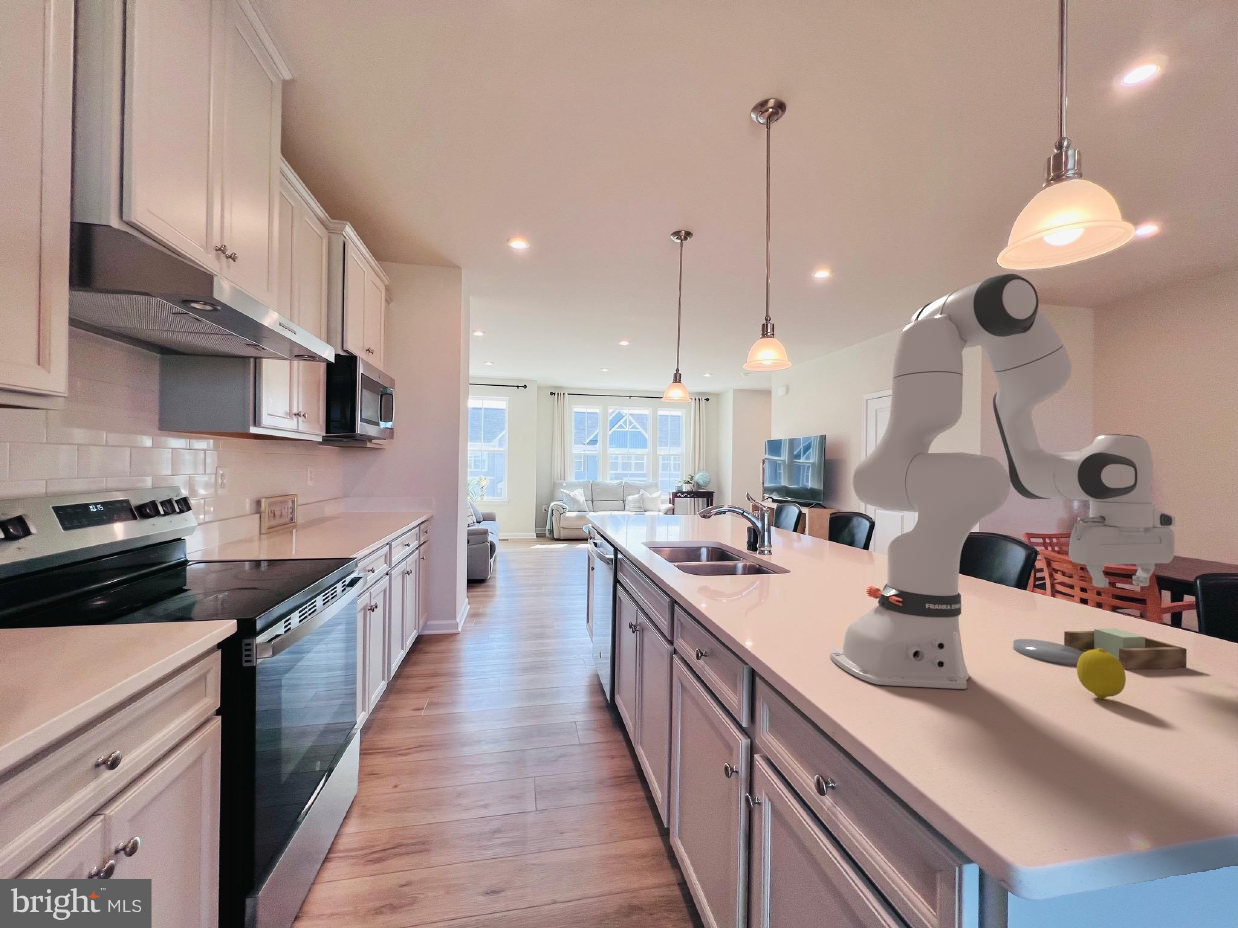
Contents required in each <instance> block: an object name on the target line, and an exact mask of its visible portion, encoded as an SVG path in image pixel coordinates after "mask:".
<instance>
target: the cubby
mask: <svg viewBox="0 0 1238 928" xmlns="http://www.w3.org/2000/svg"><path fill="white" fill-rule="evenodd" d="M1063 632H1064V633H1063V635H1064V636H1063V637H1064V638H1063V639H1064V640H1063V641H1064V642H1063V645H1065V646H1069V647H1072V648H1075V649H1077V650H1080V651H1082V650H1083V651H1089V650H1094V630H1070V631H1069V630H1068V631H1063ZM1144 637H1145V648H1122V649H1119V661H1120V662H1121V664H1122V666H1123V668H1124V671H1127V670H1149V669H1150V670H1152V669H1153V670H1154V669H1173V668H1174V669H1180V668H1181V669H1182V668H1183V669H1184V668H1187V655H1188V654H1187V649H1188V648H1185V647H1181V646H1177V645H1175V644H1170V643H1167V642H1164V641H1160V640H1157V639H1153V638H1151V637H1150V638H1149V637H1146V636H1144Z"/></svg>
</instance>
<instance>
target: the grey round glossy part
mask: <svg viewBox="0 0 1238 928" xmlns="http://www.w3.org/2000/svg"><path fill="white" fill-rule="evenodd" d="M1012 644H1013V645H1012V646H1013V650H1014V651H1016V652H1017V653H1018V654H1021V655H1023V656H1026V657H1028V658H1031V659H1035V660H1038V661H1042V662H1048V663H1052V664H1058V665H1065V666H1077V663H1078V660H1079V657H1080V656H1081V655H1082V654H1083V653H1084V652H1085V651H1082V650H1077V649H1075V648H1072V647H1069V646H1065V645H1064V644H1061V643H1057V642H1052V641H1048V640H1047V641H1046V640H1041V639H1040V640H1039V639H1034V638H1033V639H1031V638H1018V639H1014V640H1013V643H1012Z"/></svg>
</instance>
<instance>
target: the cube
mask: <svg viewBox="0 0 1238 928" xmlns="http://www.w3.org/2000/svg"><path fill="white" fill-rule="evenodd" d="M1093 631H1094V649H1097V648H1102V649H1104V650H1105V651H1106V652H1108V653H1110V654H1112V655H1113V656H1115V657H1116V658H1117V659H1118V660H1119V649H1122V648H1145V637H1146V636H1144V635H1140V634H1136V633H1132V632H1129V631H1125V630H1123V629H1122V630H1121V629H1118V628H1094V629H1093Z"/></svg>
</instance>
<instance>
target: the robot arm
mask: <svg viewBox="0 0 1238 928" xmlns="http://www.w3.org/2000/svg"><path fill="white" fill-rule="evenodd" d="M1039 300H1040V299H1039V295H1038V292H1037V289H1036V288H1035V286H1034V285H1033V283H1031V282H1030V280H1028V279H1026V278H1025V277H1023V276H1022V275H1019V274H1016V273H1005V274H999V275H995V276H991V277H988V278H987V279H984V280H983V281H981V282H977V283H975V284H971V285H968V286H966V287H963V288H959V289H957V290H954V291H952V292H950V293H947V294H946V295H944V296H942V297H940V298H938V299H937V300H935V301H933V302H932V301H931V302H929V303H927V304H925V305H923V306H922V307H921V308H919V309H918V310H917V311H916V312H915V313H914V314H913V315H912V317H911V319H910V320H909V324H908V325H906V326H905V327H904V328H903V330H902V331H901V332H900V335H899V337H898V339H897V340H898V341H897V344H896V349H895V354H894V359H893V360H894V361H893V367H892V384H891V400H890V402H891V403H890V410H889V411H890V412H889V418H888V423H887V426H886V428H885V431H884V433H883V436H882V437H881V439H880V441H879V443H878V444H877V445H876V447H875V448H874V449H873V450H872V451H871V452H870V453H869V454H868V455H867V456H866V457H865V458H864V459H862V460H861V461H860V462H859V463H858V464H857V466H856V467H855V468H854V469H855V470H854V472H853V474H852V487H853V490H854V494H855V495H856V497H857V498H858V500H859V501H860V502H862V503H863V504H865V505H869V506H872V507H875V508H878V509H882V510H885V511H897V512H909V513H918V515H917V520H916V523H915V526H914V527H913V529H912V530H909V531H906V532H904V533H902V534H900V535H897V536H896V537H895V538H893V540H892V541H890V543H889V545H888V547H887V571H886V572H887V576H886V577H887V578H886V579H887V581H886V583H885V585H884V586H883V589H882V590H881V589H880V588H879V587H875V586H873V585H869V586H868V587H867V588H866V595H867V596H868V597H869V598H873V599H875V600H877V599H878V600H877V603H878V604H877V605H876V606H875V607H873V608H871V609H870V610H869V611H868V612H866V613H865V614H863V615H862V616H860V617H859V618H858V619H857V620H855V621H853V622H852V623H850V624H849V625H848V626H847V628H846V631H845V634H844V639H843V647H840V648H833V649H831V650H830V654H829V657H830V659H831V660H832V662H834V663H835V664H836V665H837V666H838V667H839V668H841V669H842V670H843V671H846V672H847V673H848V674H851V675H853V676H855V677H856V678H858V679H861V680H863V681H865V682H868V683H871V684H875V685H880V686H895V687H896V686H897V687H915V688H917V687H918V688H919V687H920V688H933V689H934V688H935V689H936V688H938V689H939V688H940V689H957V690H966V689H967V688H968V682H967V680H968V679H969V677H970V674H969V672H968V668H967V665H966V660H965V657H964V652H963V645H962V637H961V632H960V631H961V630H960V629H961V628H960V622H959V621H960V619H959V617H960V615H962V594H961V593H960V592H959V579H960V578H959V577H960V575H959V574H960V564H961V563H960V561H961V555H962V550H963V546H964V545H965V544H964V543H966V540H967V538H968V536H969V535H970V533H971V531H972V530H973V529H974V528H975V527H976V526H977V525H978V524H979V523H980V522H981V521H982V520H984V519H985V518H987V517H988V516H991V515H992V514H993V513H996V512H998V510H1000V508H1001V507H1002V506H1003V505H1004V503H1005V502H1006V501H1007V499H1008V496H1009V494H1010V490H1011V486H1012V487H1013V489H1014V490H1015V491H1016V492H1017V493H1018V494H1019V495H1020V496H1022V497H1024V498H1026V499H1030V500H1049V499H1056V500H1073V501H1078V500H1079V501H1081V500H1082V501H1089V516H1081V517H1080V518H1079V519H1078V520H1077V521H1076V522H1074V525H1073V528H1072V531H1071V534H1070V539H1069V547H1068V558H1069V559H1070V560H1071V562H1072V563H1076V564H1080V565H1086V569H1087V571H1088V573H1089V574H1090V577H1091V579H1092V582H1091V583H1092V586H1094V587H1096V588H1108V587H1109V586H1110V585H1109V581H1110V580H1109V578H1107V577H1105V575H1104V573H1103V571H1104V570H1105V565H1108V566H1109V565H1136V567H1137V571H1136V573H1135V575H1132V584H1133V585H1134V586H1138V587H1148V586H1150V577H1151V576H1152V574H1153V573H1154V571H1155V568H1156V565H1155V564H1169V563H1171V562H1172V560H1173V559H1174V556H1175V547H1176V546H1175V533H1174V530H1173V529H1172V527H1175V526H1176V517H1175V516H1174V515H1172V514H1169V513H1166V512H1164V511H1162V510H1159V509H1158V508H1154V499H1153V496H1152V494H1151V487H1152V485H1153V483H1154V462H1153V455H1152V451H1151V447H1150V445H1149V442H1148V440H1147V439H1145V438H1143V437H1141V436H1138V435H1133V434H1119V433H1114V434H1113V433H1112V434H1111V433H1109V434H1101V435H1098V436H1095V437H1094V439H1093V442H1092V444H1089V445H1088V446H1085V447H1084V448H1082V449H1079V450H1077V451H1064V452H1063V451H1062V452H1061V451H1059V452H1050V451H1047V450H1045V449H1044V448H1043V447H1041V446H1040V443H1039V439H1038V437H1037V432H1036V430H1035V429H1036V428H1035V425H1034V422H1033V419H1032V413H1033V410H1034V408H1035V407H1036V406H1038V405H1039V404H1042V403H1043V402H1045V401H1047V400H1048V399H1050V398H1052V397H1053V396H1055V395H1056V394H1057V393H1059V392H1060V391H1061V390H1062V389H1063V388H1064V387H1065V386H1066V385H1067V383H1068V382H1069V380H1070V377H1071V376H1072V375H1071V374H1072V372H1073V368H1072V367H1073V366H1072V361H1071V358H1070V355H1069V353H1068V351H1067V349H1066V348H1065V345H1064V343H1063V341H1062V339H1061V336H1060V335H1059V333H1058V331H1057V330H1056V328H1055V327H1054V325H1053V324H1052V322H1051V320H1050V319H1049V317H1047V315H1046V314H1045V313H1044V312H1043V310H1042V309H1041V308H1040V306H1039V303H1040V302H1039ZM977 346H980V347H982V348H983V349H984V351H985V355H986V358H987V361H988V363H989V365H990V367H991V370H992V372H993V374H994V377H995V381H996V386H997V387H996V388H997V389H996V390H997V391H995V393H994V394H993V398H992V408H993V413H994V416H995V421H996V424H997V427H998V431H999V435H1000V438H1001V442H1002V445H1003V447H1004V451H1005V455H1006V459H1007V465H1008V472H1007V470H1006V469H1005V467H1004V466H1003V465H1002V463H1001V462H1000V461H999V460H997V458H995V457H992V456H988V455H982V454H976V453H975V454H974V453H967V452H961V451H960V452H929V450H930V448H931V445H932V443H933V442H934V441H935V440H936V438H937V437H938V436H940V435H941V434H944V433H945V432H946V431H949V430H950V429H952V428H953V427H954V426H955V425H957V423H958V422H959V421H960V419H961V417H962V414H963V392H964V391H963V384H964V361H963V351H964V349H967V348H973V347H977Z"/></svg>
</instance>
